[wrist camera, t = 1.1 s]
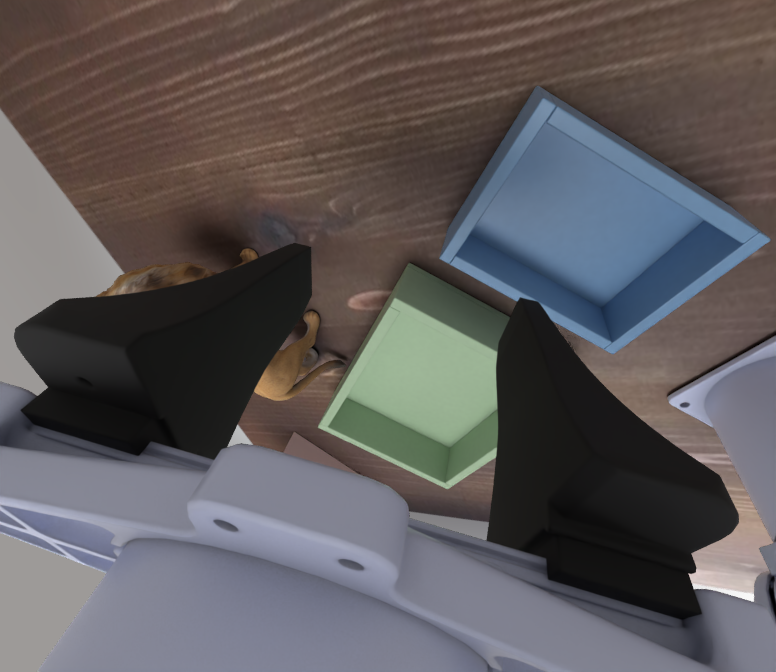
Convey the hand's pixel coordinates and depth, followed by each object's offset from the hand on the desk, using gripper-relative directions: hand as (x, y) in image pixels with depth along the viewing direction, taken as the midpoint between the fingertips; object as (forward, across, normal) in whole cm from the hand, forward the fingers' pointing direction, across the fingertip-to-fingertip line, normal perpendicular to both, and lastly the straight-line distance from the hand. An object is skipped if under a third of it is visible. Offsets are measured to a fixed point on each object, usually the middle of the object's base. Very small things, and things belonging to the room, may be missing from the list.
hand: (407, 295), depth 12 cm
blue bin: (+9, -7, 0) cm, 12 cm away
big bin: (+9, -3, +14) cm, 17 cm away
